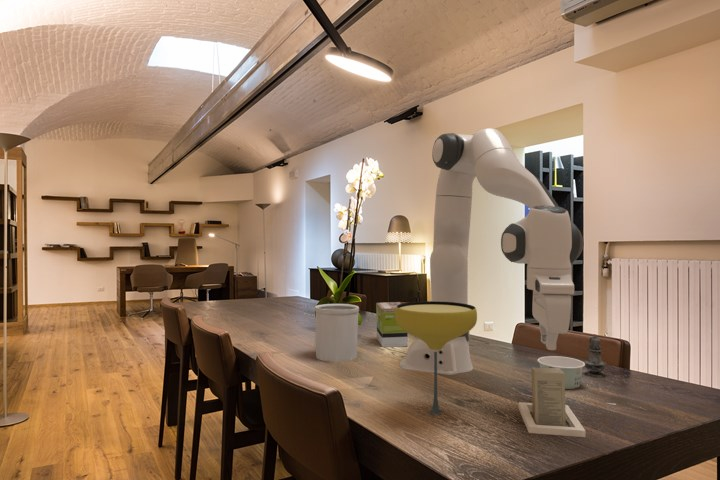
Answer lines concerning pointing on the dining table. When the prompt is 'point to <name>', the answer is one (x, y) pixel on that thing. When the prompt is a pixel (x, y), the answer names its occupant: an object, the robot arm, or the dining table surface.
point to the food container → (565, 368)
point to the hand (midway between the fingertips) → (548, 346)
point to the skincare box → (548, 396)
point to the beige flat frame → (574, 430)
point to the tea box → (389, 326)
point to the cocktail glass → (436, 326)
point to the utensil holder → (336, 332)
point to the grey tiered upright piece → (594, 359)
